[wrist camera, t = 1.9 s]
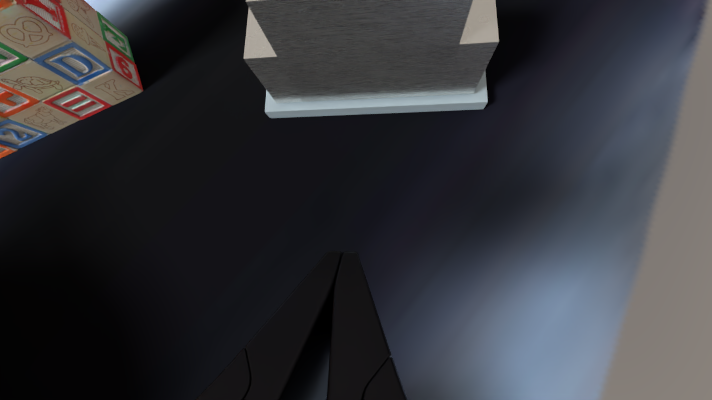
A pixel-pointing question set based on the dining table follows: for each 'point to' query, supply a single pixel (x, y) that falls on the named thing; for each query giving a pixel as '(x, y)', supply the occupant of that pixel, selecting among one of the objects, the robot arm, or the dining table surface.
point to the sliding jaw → (369, 47)
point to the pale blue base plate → (380, 104)
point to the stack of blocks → (58, 68)
